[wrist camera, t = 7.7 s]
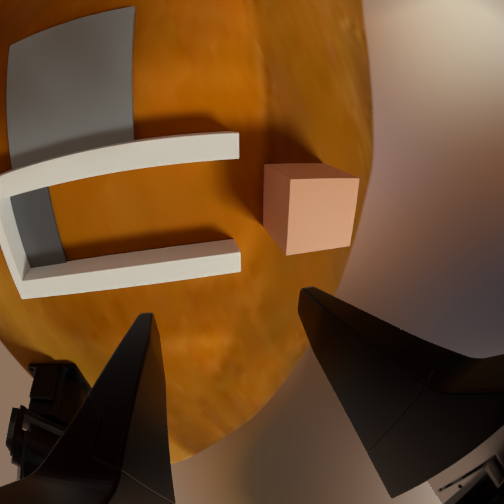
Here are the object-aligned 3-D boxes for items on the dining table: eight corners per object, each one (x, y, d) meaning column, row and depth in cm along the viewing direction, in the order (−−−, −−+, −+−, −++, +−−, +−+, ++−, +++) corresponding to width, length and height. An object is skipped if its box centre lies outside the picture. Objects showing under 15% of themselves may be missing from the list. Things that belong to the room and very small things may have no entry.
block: (317, 219, 21) (349, 245, 17) (262, 225, 20) (286, 255, 16) (322, 162, 19) (359, 178, 15) (263, 163, 18) (290, 179, 14)
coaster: (135, 140, 15) (133, 140, 14) (16, 168, 12) (12, 170, 12) (135, 9, 10) (134, 6, 10) (13, 46, 8) (9, 45, 8)
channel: (234, 257, 20) (240, 271, 19) (30, 284, 16) (22, 299, 15) (231, 130, 16) (238, 133, 14) (-2, 174, 12) (-16, 181, 10)
